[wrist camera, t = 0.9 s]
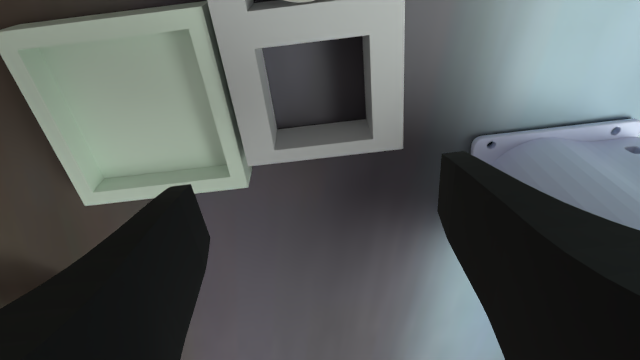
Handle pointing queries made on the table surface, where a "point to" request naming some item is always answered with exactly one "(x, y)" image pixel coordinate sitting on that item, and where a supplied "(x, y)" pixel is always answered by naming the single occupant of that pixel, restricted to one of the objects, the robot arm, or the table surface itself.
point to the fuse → (299, 0)
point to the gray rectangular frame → (302, 27)
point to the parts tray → (131, 100)
